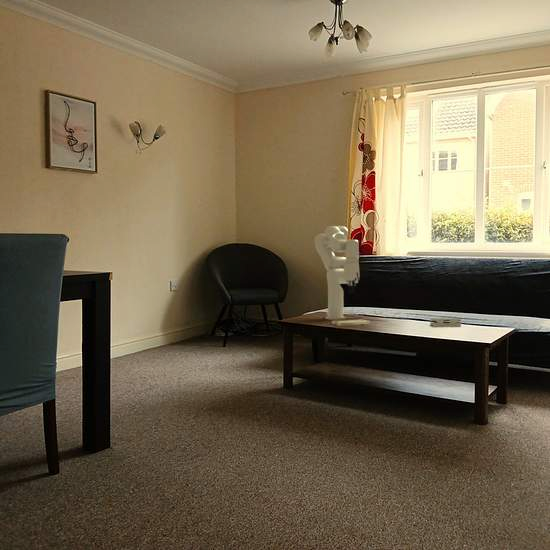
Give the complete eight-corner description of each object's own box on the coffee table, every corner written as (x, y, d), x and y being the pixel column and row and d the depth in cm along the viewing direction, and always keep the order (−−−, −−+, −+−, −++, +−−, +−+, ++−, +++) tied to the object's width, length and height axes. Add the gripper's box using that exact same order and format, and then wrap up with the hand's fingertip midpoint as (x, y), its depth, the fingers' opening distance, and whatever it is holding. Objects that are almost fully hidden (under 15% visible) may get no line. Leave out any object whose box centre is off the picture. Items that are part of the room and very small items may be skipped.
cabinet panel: (332, 324, 326) (332, 318, 325) (360, 322, 335) (360, 316, 335) (342, 326, 317) (342, 320, 317) (370, 324, 326) (370, 318, 326)
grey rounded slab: (462, 326, 317) (455, 326, 327) (462, 318, 317) (454, 318, 327) (433, 327, 315) (427, 326, 325) (433, 318, 316) (427, 318, 325)
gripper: (339, 260, 329) (339, 292, 330) (354, 261, 316) (354, 293, 317) (349, 260, 333) (349, 291, 333) (365, 261, 319) (364, 293, 320)
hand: (351, 292), depth 325 cm, fingers closed
